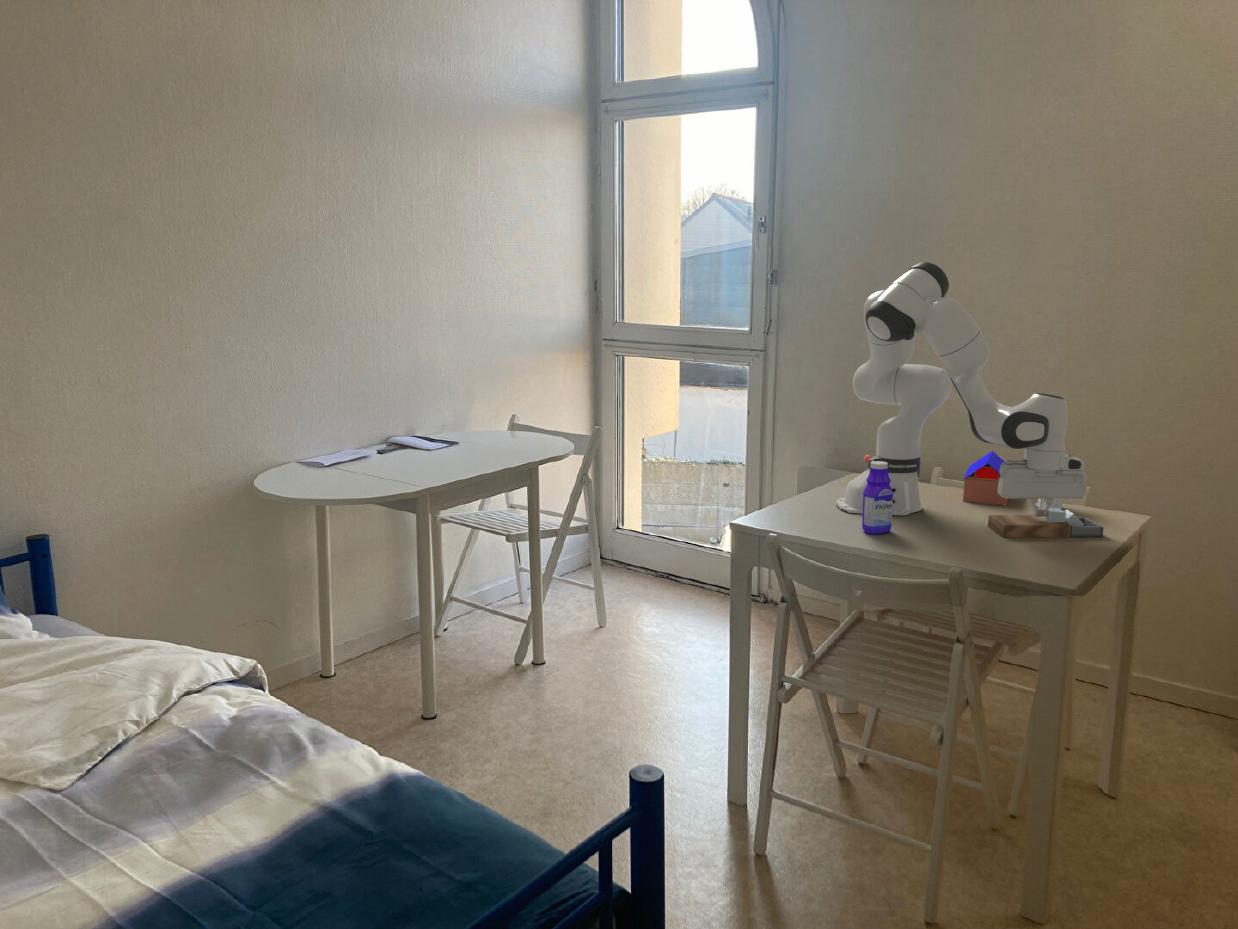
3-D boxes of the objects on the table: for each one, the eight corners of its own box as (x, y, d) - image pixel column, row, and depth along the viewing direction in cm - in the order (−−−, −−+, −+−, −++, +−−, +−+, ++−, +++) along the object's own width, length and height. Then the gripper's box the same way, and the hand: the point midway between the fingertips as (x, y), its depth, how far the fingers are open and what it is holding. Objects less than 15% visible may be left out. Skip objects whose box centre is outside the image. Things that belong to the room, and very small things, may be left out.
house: (961, 502, 264) (964, 461, 262) (968, 487, 282) (970, 449, 280) (1007, 506, 259) (1011, 464, 257) (1011, 491, 277) (1014, 452, 275)
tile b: (1048, 522, 230) (1049, 512, 229) (1041, 518, 234) (1042, 508, 233) (1064, 522, 230) (1065, 512, 229) (1057, 518, 234) (1058, 508, 233)
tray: (1071, 537, 228) (1071, 527, 227) (1053, 526, 237) (1054, 517, 236) (1102, 537, 227) (1103, 527, 227) (1084, 526, 237) (1085, 517, 236)
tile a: (1065, 520, 230) (1073, 513, 229) (1058, 516, 233) (1066, 509, 233) (1076, 531, 230) (1084, 524, 230) (1069, 527, 234) (1077, 520, 233)
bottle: (873, 536, 229) (876, 465, 226) (857, 531, 234) (860, 461, 231) (895, 532, 232) (899, 463, 229) (879, 527, 237) (882, 459, 234)
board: (1002, 537, 228) (1003, 525, 227) (987, 526, 238) (988, 515, 237) (1070, 537, 227) (1071, 525, 227) (1052, 526, 237) (1053, 515, 237)
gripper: (1005, 462, 226) (1001, 518, 228) (1092, 462, 225) (1087, 519, 228) (995, 457, 232) (991, 512, 235) (1080, 457, 231) (1075, 513, 234)
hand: (1039, 515), depth 231 cm, fingers closed
